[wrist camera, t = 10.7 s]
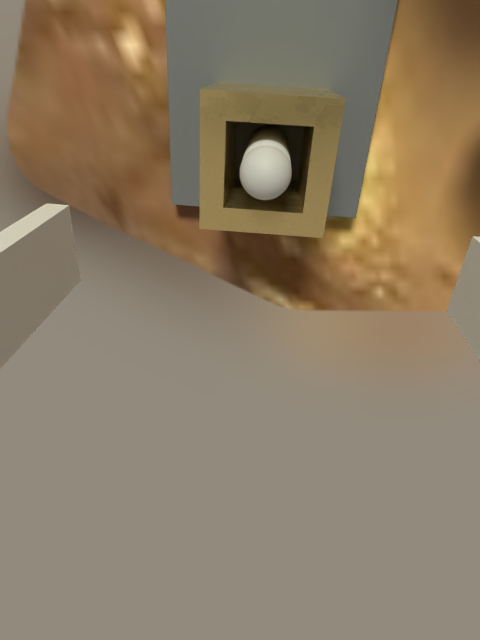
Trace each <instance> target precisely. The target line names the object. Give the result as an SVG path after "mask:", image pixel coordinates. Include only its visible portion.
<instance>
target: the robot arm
mask: <svg viewBox="0 0 480 640" xmlns="http://www.w3.org/2000/svg"><path fill="white" fill-rule="evenodd" d="M79 281H80V274H79V267H78V261H77V255H76V248H75V242H74V235H73V228H72V222H71V215H70V210H69V205H58V204H45V205H44V206H42V207H40V208H38V209H37V210H35V211H34V212H32V213H30V214H29V215H27V216H25V217H24V218H22V219H21V220H19V221H17V222H16V223H14V224H12V225H11V226H9V227H8V228H6V229H4V230H3V231H1V232H0V368H2V366H3V365H4V364H5V363H6V362H7V361H8V360H9V358H11V356H12V355H13V354H14V353H15V352H16V351H17V350H18V349H19V348H20V346H21V345H22V344H23V343H24V342H25V341H26V340H27V339H28V338H29V336H30V335H31V334H32V333H33V332H34V331H35V330H36V329H37V328H38V327H39V326H40V325H41V323H42V322H43V321H44V320H45V319H46V318H47V317H48V316H49V315H50V314H51V312H52V311H53V310H54V309H55V308H56V307H57V306H58V304H60V302H61V301H62V300H63V299H64V298H65V297H66V296H67V295H68V294H69V293H70V291H71V290H72V289H73V288H74V287H75V286H76V285H77V284H78V283H79ZM447 312H448V314H449V315H450V317H451V318H452V320H453V321H454V323H455V325H456V326H457V328H458V329H459V331H460V332H461V334H462V335H463V337H464V338H465V340H466V341H467V343H468V344H469V346H470V347H471V349H472V350H473V352H474V353H475V355H476V357H477V358H478V359H479V361H480V237H476V236H472V239H471V242H470V245H469V248H468V251H467V254H466V257H465V260H464V262H463V265H462V268H461V271H460V274H459V277H458V280H457V283H456V285H455V288H454V291H453V294H452V297H451V300H450V303H449V306H448V309H447Z"/></svg>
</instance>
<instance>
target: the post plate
mask: <svg viewBox="0 0 480 640" xmlns="http://www.w3.org/2000/svg"><path fill="white" fill-rule="evenodd" d="M165 3H166V35H167V68H168V100H169V132H170V164H171V197H172V204H173V205H187V206H200V89H202V88H204V87H207V86H209V85H212V84H214V83H216V82H221V83H237V84H253V85H269V86H284V87H300V88H316V89H330V90H332V91H334V92H335V93H337V94H339V95H340V96H342V97H344V98H345V106H344V112H343V118H342V124H341V131H340V137H339V143H338V149H337V155H336V162H335V168H334V174H333V180H332V187H331V193H330V199H329V205H328V212H327V216H337V217H351V218H356V213H357V208H358V202H359V197H360V192H361V187H362V182H363V177H364V172H365V167H366V162H367V156H368V151H369V146H370V141H371V136H372V131H373V126H374V121H375V116H376V110H377V105H378V100H379V95H380V90H381V85H382V80H383V75H384V70H385V64H386V59H387V54H388V49H389V44H390V39H391V34H392V29H393V24H394V18H395V13H396V8H397V3H398V0H165ZM303 132H304V126H296V125H281V124H266V123H251V122H236V142H235V165H234V178H240V180H241V183H242V186H243V187H244V189H245V190H246V192H247V193H248V194H250V195H251V196H252V197H254V198H256V199H260V200H271V199H274V198H276V197H278V196H280V195H281V194H282V193H283V192H284V191H285V190H286V189H287V187H288V185H289V183H290V182H298V174H299V166H300V157H301V149H302V141H303Z"/></svg>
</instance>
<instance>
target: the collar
mask: <svg viewBox="0 0 480 640" xmlns="http://www.w3.org/2000/svg"><path fill="white" fill-rule="evenodd" d="M344 106H345V98H344V97H342V96H340V95H339V94H337V93H335V92H334V91H332V90H330V89H316V88H300V87H284V86H269V85H253V84H237V83H221V82H216V83H214V84H212V85H209V86H207V87H204V88H202V89H200V223H199V229H209V230H222V231H236V232H249V233H262V234H275V235H289V236H302V237H315V238H323V236H324V230H325V224H326V218H327V212H328V205H329V199H330V193H331V187H332V180H333V174H334V168H335V162H336V155H337V149H338V143H339V137H340V131H341V124H342V118H343V112H344ZM236 122H251V123H266V124H281V125H296V126H304V132H303V141H302V149H301V157H300V166H299V174H298V182H290V183H289V185H288V187H287V189H286V190H285V191H284V192H283V193H282V194H281V195H280V196H278V197H276V198H274V199H271V200H260V199H256V198H254V197H252V196H251V195H250V194H248V193H247V192H246V190H245V189H244V187H243V186H242V183H241V180H240V178H234V165H235V142H236Z"/></svg>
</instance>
